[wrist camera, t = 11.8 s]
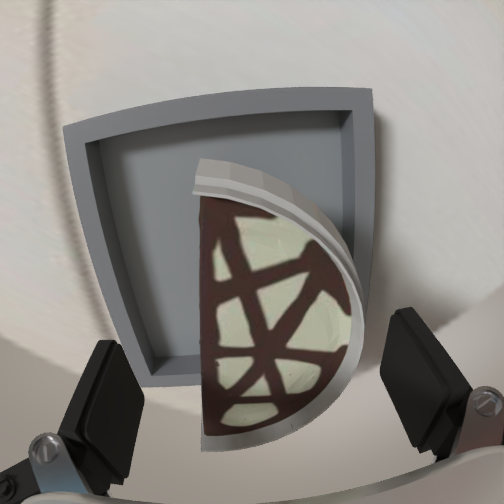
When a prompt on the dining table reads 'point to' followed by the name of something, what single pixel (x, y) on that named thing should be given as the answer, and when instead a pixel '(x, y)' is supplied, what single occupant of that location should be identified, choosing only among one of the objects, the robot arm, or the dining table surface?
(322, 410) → the food container
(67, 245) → the dining table surface
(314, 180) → the tray
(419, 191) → the dining table surface
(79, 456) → the robot arm
